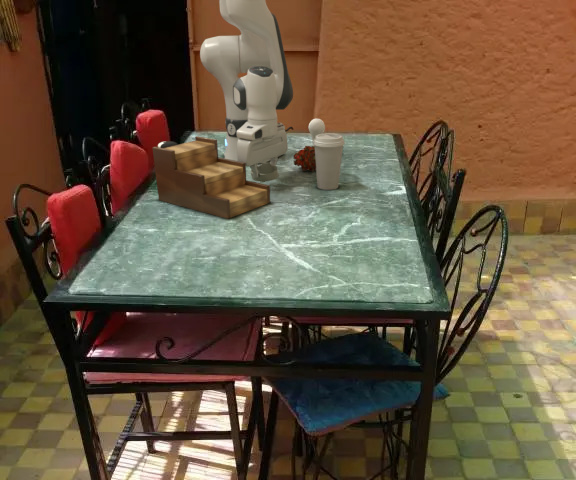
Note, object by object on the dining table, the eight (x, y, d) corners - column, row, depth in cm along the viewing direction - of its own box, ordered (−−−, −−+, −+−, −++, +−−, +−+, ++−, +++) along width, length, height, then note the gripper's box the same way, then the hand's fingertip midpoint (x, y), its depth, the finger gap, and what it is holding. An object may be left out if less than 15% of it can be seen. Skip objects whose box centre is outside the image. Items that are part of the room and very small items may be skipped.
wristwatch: (282, 178, 200) (281, 162, 197) (273, 184, 195) (273, 167, 192) (256, 175, 203) (255, 159, 200) (247, 180, 198) (246, 164, 195)
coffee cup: (345, 190, 194) (347, 139, 186) (314, 191, 193) (315, 140, 185) (340, 182, 202) (342, 132, 194) (310, 183, 201) (311, 133, 193)
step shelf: (202, 186, 199) (198, 136, 191) (270, 202, 185) (268, 149, 176) (158, 200, 188) (152, 147, 180) (227, 218, 173) (224, 162, 165)
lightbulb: (316, 147, 242) (316, 116, 236) (327, 149, 238) (328, 118, 232) (304, 149, 239) (305, 118, 232) (316, 152, 235) (316, 121, 229)
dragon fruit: (322, 178, 211) (295, 177, 218) (333, 159, 213) (306, 158, 220) (310, 160, 204) (283, 160, 212) (322, 139, 206) (294, 140, 214)
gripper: (276, 120, 199) (277, 165, 206) (232, 132, 185) (235, 180, 193) (292, 122, 195) (292, 168, 203) (248, 135, 182) (250, 184, 190)
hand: (264, 174), depth 198 cm, fingers closed on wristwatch, 6 cm apart
